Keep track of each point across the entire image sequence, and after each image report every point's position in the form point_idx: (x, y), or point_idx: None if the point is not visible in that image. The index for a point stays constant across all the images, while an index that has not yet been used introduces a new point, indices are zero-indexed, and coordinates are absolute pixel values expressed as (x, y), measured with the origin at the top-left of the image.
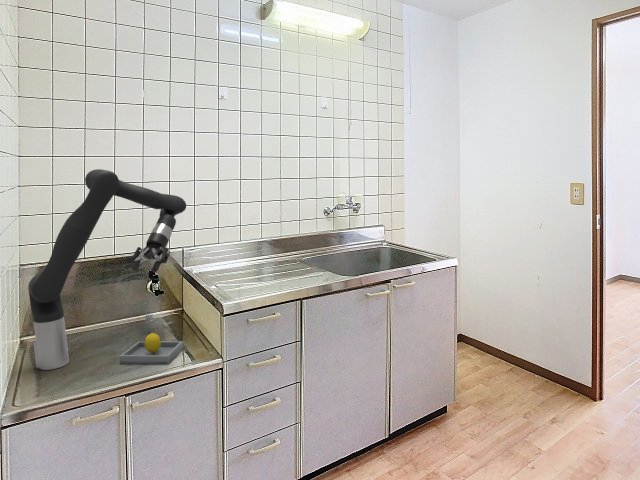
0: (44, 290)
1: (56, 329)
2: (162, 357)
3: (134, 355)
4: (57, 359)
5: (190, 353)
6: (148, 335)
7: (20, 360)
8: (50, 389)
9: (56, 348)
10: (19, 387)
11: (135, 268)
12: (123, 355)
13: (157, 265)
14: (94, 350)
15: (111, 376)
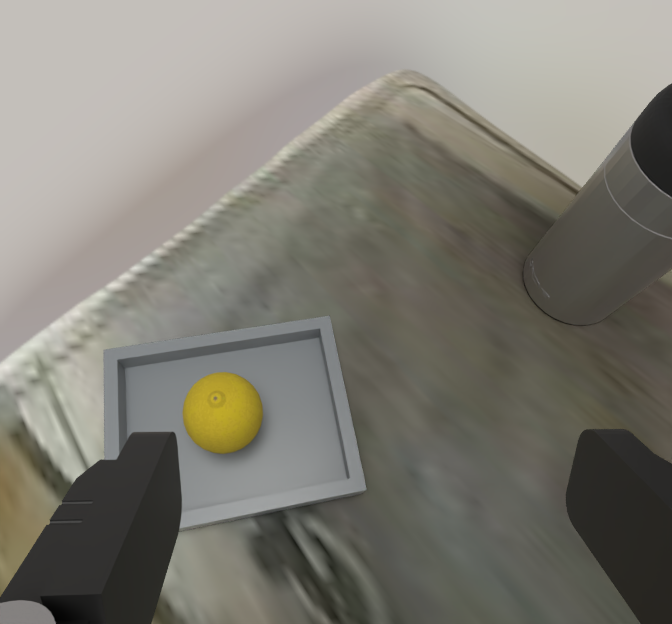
0: None
1: (603, 170)
2: (131, 347)
3: (266, 332)
4: (539, 243)
5: (58, 494)
6: (231, 386)
7: None
8: (407, 154)
9: (560, 218)
10: (507, 151)
11: (597, 477)
12: (315, 324)
13: (42, 541)
14: (552, 428)
15: (284, 244)
